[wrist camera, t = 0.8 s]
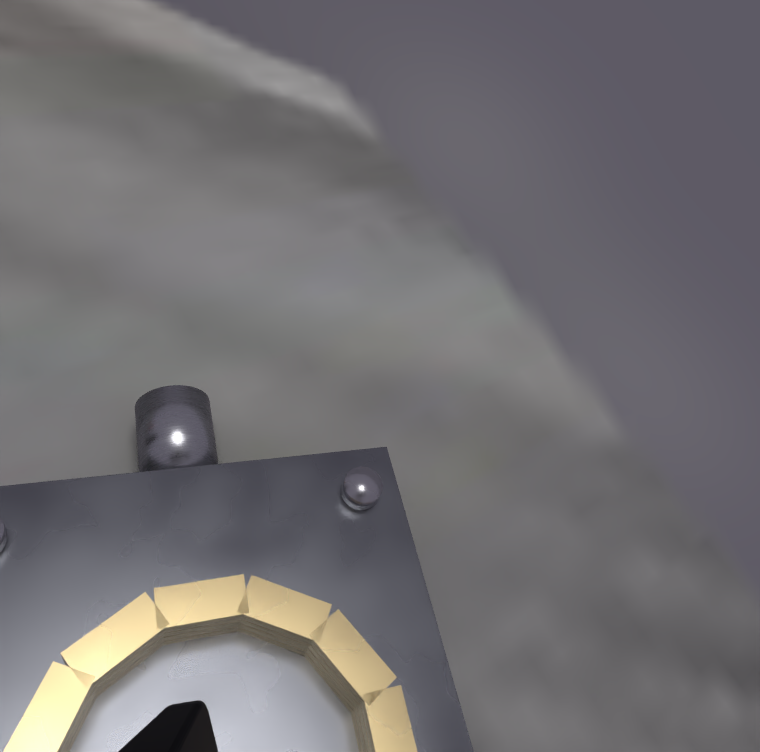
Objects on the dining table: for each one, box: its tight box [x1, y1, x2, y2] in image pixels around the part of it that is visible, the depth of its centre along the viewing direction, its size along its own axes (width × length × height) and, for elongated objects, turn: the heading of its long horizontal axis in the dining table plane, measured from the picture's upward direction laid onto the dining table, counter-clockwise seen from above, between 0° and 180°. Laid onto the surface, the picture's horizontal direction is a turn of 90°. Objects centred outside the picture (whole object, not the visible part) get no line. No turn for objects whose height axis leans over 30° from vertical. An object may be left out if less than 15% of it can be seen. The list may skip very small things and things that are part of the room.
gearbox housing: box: [0, 385, 473, 752], centre depth 18 cm, size 20×13×4 cm, turn 15°
